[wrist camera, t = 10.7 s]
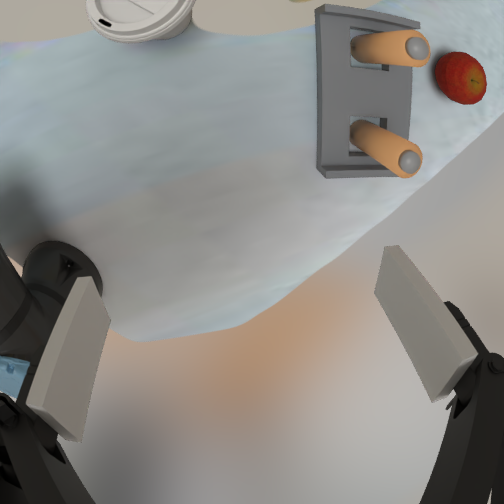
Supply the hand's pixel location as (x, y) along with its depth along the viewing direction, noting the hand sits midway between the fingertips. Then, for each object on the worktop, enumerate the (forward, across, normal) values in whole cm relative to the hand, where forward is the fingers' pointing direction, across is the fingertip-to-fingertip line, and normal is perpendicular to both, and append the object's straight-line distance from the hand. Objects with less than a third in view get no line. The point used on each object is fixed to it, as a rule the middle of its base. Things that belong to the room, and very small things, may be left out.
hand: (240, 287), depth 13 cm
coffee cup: (+29, -6, +17) cm, 34 cm away
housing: (+29, +18, +6) cm, 35 cm away
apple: (+29, +33, +10) cm, 45 cm away
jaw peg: (+29, +18, 0) cm, 34 cm away
